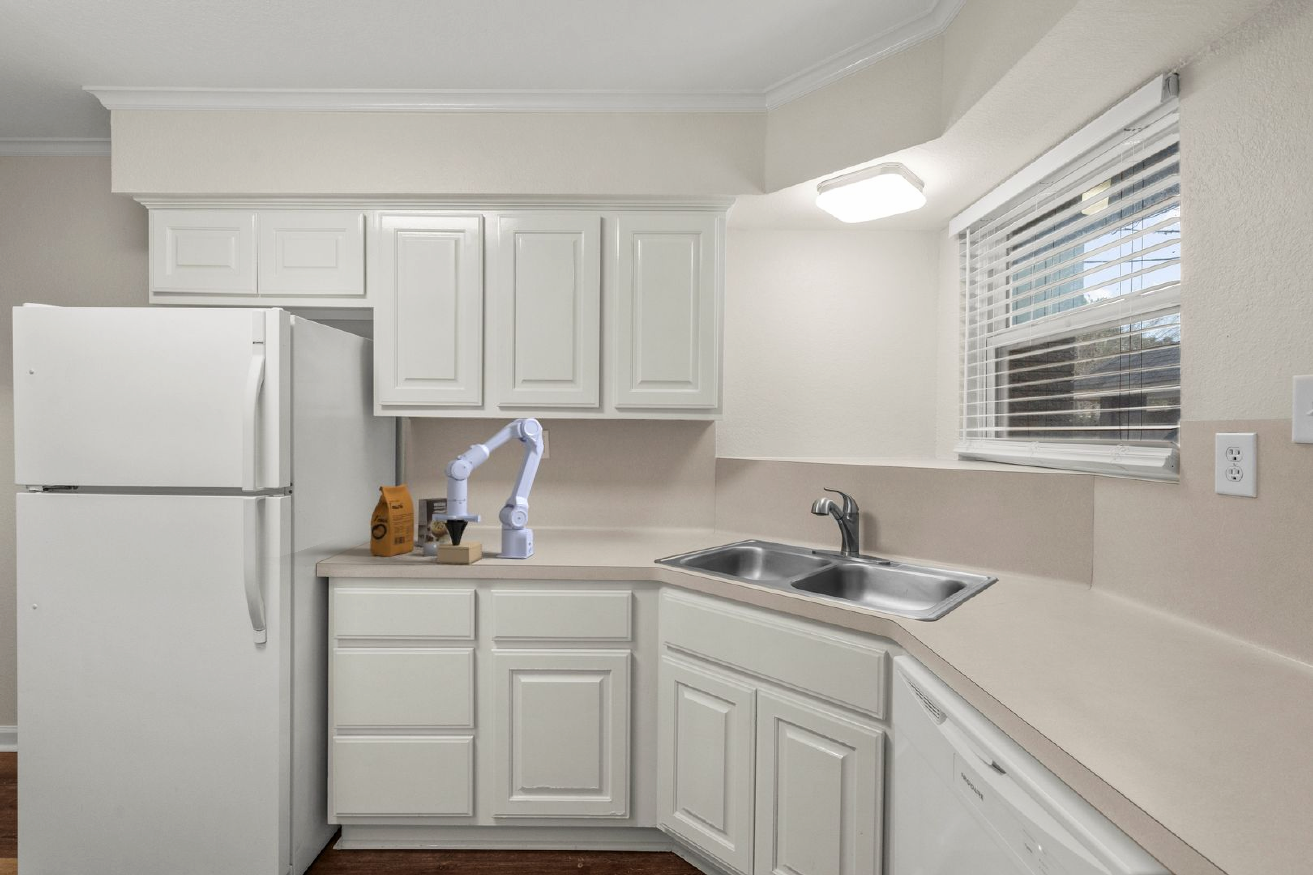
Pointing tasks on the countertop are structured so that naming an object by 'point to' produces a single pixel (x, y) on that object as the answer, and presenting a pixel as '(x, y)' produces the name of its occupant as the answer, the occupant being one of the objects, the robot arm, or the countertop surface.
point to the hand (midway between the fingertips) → (456, 545)
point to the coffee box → (430, 528)
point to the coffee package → (392, 522)
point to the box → (459, 555)
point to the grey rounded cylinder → (430, 548)
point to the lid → (462, 545)
